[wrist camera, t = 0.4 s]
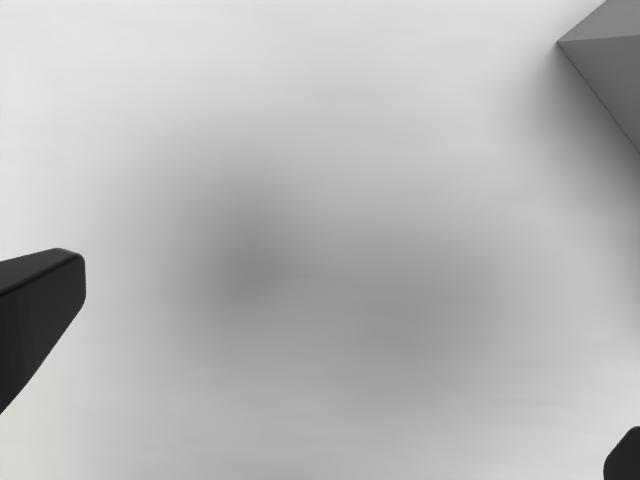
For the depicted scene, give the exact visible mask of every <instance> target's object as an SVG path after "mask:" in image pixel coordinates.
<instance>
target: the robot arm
mask: <svg viewBox="0 0 640 480" xmlns="http://www.w3.org/2000/svg"><path fill="white" fill-rule="evenodd" d="M85 298H86V276H85V260H84V258H83V256H82V255H80V254H79V253H75V252H72V251H69V250H66V249H62V248H53V249H49V250H45V251H41V252H37V253H33V254H29V255H25V256H21V257H17V258H13V259H8V260H4V261H0V414H1V413H2V412H3V411H4V410H5V409H6V408H7V406H8V405H9V404H10V403H11V402H12V401H13V400H14V398H15V397H16V396H17V395H18V394H19V393H20V391H21V390H22V389H23V388H24V387H25V385H26V384H27V383H28V382H29V380H30V379H31V378H32V376H33V375H34V374H35V373H36V371H37V370H38V368H39V367H40V366H41V364H42V363H43V361H44V360H45V359H46V357H47V356H48V354H49V353H50V352H51V350H52V349H53V347H54V346H55V345H56V343H57V342H58V340H59V339H60V338H61V336H62V335H63V333H64V332H65V331H66V329H67V328H68V326H69V325H70V324H71V322H72V321H73V319H74V318H75V317H76V315H77V314H78V312H79V311H80V309H81V308H82V306H83V304H84V301H85ZM603 475H604V480H640V426H635V427H633V428H631V429H630V430H629V431H628V432H627V433H626V434H625V436H624V437H623V438H622V439H621V441H620V442H619V443H618V444H617V445H616V447H615V448H614V449H613V450H612V451H611V453H610V454H609V455H608V456H607V458H606V460H605V463H604V469H603Z"/></svg>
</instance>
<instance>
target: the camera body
mask: <svg viewBox="0 0 640 480" xmlns="http://www.w3.org/2000/svg"><path fill="white" fill-rule="evenodd" d="M557 43H558V45H559V46H560V47H561V49H562V50H563V51H564V53H565V54H566V55H567V57H568V58H569V59H570V61H571V62H572V63H573V65H574V66H575V67H576V69H577V70H578V71H579V73H580V74H581V75H582V77H583V78H584V79H585V81H586V82H587V83H588V85H589V86H590V88H591V89H592V90H593V92H594V93H595V94H596V96H597V97H598V98H599V100H600V101H601V102H602V104H603V105H604V106H605V108H606V109H607V110H608V112H609V113H610V114H611V116H612V117H613V118H614V120H615V121H616V122H617V124H618V125H619V126H620V128H621V129H622V130H623V132H624V133H625V134H626V136H627V137H628V138H629V140H630V141H631V142H632V144H633V145H634V146H635V148H636V149H637V151H638V152H639V153H640V0H607V1H606V2H605V3H603V4H602V5H601V6H600V7H598V8H597V9H596V10H595V11H594V12H592V13H591V14H590V15H589V16H587V17H586V18H585V19H584V20H583V21H581V22H580V23H579V24H578V25H576V26H575V27H574V28H573V29H572V30H570V31H569V32H568V33H567V34H565V35H564V36H563V37H562V38H560V39H559V40H558V41H557Z"/></svg>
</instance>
